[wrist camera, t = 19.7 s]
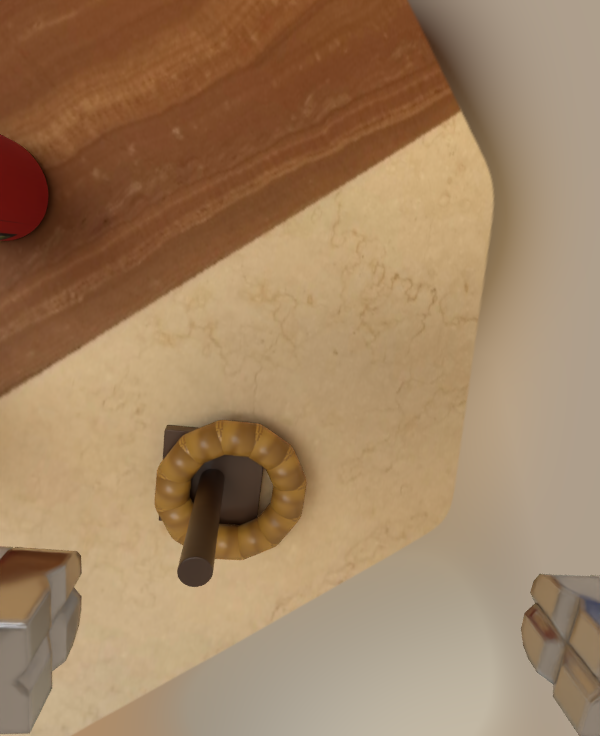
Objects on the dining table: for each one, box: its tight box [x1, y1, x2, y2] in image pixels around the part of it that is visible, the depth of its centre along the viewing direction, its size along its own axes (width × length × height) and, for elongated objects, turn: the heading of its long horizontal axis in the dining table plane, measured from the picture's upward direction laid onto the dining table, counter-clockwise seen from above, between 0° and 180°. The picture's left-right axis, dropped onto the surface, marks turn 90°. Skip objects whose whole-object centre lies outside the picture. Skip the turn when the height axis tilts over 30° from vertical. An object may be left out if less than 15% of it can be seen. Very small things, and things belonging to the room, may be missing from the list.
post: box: [159, 425, 263, 587], centre depth 31 cm, size 8×8×12 cm
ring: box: [155, 420, 307, 560], centre depth 35 cm, size 12×12×3 cm
